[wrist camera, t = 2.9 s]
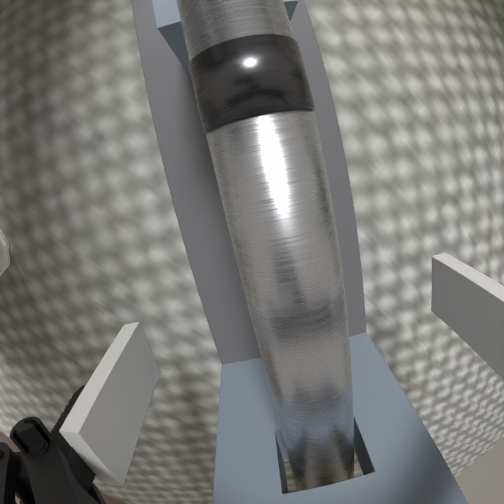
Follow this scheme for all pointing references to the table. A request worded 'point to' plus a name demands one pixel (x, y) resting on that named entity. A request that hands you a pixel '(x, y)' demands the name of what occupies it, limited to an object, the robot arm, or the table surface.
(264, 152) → the shaft
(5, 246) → the cup
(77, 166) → the table surface
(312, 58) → the rig
